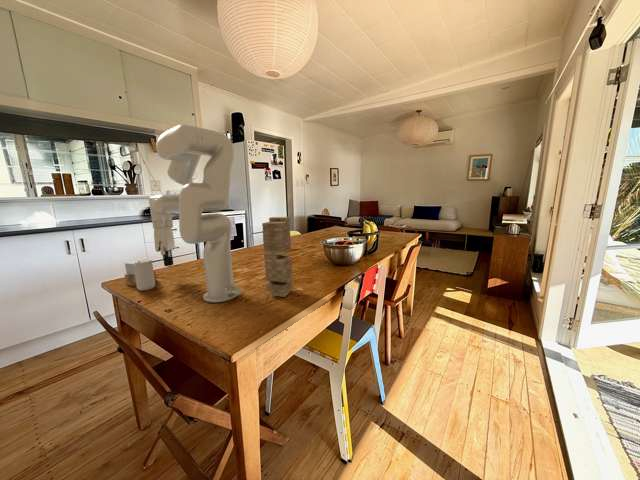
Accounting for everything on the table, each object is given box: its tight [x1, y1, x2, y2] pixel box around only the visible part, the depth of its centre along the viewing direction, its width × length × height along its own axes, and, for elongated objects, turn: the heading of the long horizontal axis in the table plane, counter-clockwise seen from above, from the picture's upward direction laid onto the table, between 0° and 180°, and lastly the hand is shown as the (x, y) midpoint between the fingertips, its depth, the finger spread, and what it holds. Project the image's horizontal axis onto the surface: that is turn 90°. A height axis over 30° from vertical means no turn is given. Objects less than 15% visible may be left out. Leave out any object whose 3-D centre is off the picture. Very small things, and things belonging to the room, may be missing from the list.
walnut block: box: [124, 269, 157, 287], centre depth 113 cm, size 8×8×5 cm
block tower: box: [261, 216, 294, 298], centre depth 96 cm, size 8×8×29 cm
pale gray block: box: [124, 258, 154, 275], centre depth 112 cm, size 7×7×5 cm
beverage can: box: [134, 258, 156, 292], centre depth 105 cm, size 6×6×12 cm
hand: (169, 265), depth 113 cm, fingers closed
